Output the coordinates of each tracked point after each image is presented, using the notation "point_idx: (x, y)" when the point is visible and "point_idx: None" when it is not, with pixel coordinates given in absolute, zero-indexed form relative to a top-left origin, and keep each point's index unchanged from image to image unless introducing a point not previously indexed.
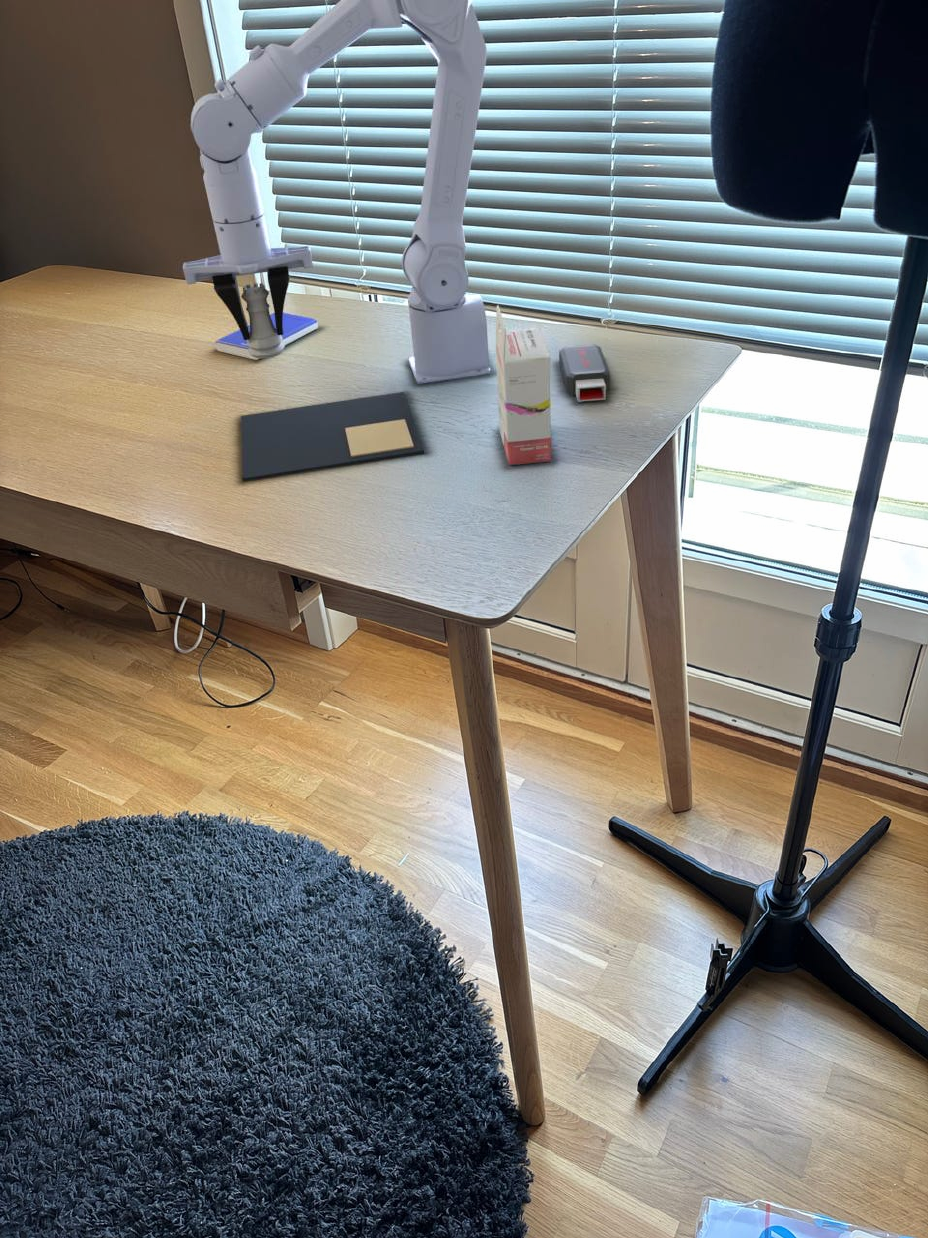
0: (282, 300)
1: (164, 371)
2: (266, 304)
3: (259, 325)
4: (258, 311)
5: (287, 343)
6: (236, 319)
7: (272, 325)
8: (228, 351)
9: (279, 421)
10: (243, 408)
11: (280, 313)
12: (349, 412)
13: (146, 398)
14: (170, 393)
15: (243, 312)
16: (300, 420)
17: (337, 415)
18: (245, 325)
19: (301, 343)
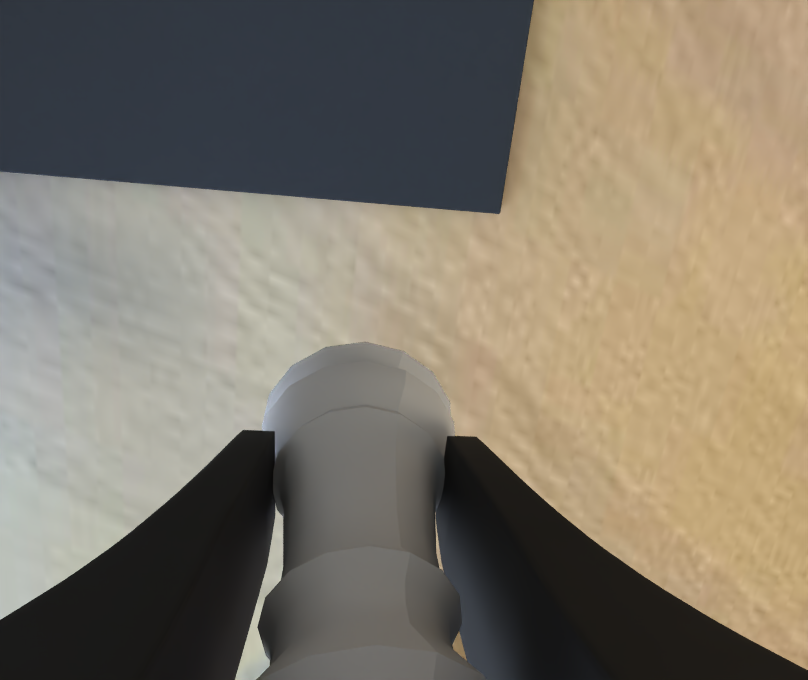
0: (64, 586)
1: None
2: (279, 623)
3: (376, 471)
4: (365, 544)
5: None
6: (551, 508)
7: (288, 490)
8: None
9: (368, 90)
10: (476, 297)
11: (178, 506)
12: (61, 39)
13: (722, 475)
14: (656, 483)
15: (471, 621)
16: (282, 57)
17: (117, 33)
18: (476, 478)
19: (251, 665)
